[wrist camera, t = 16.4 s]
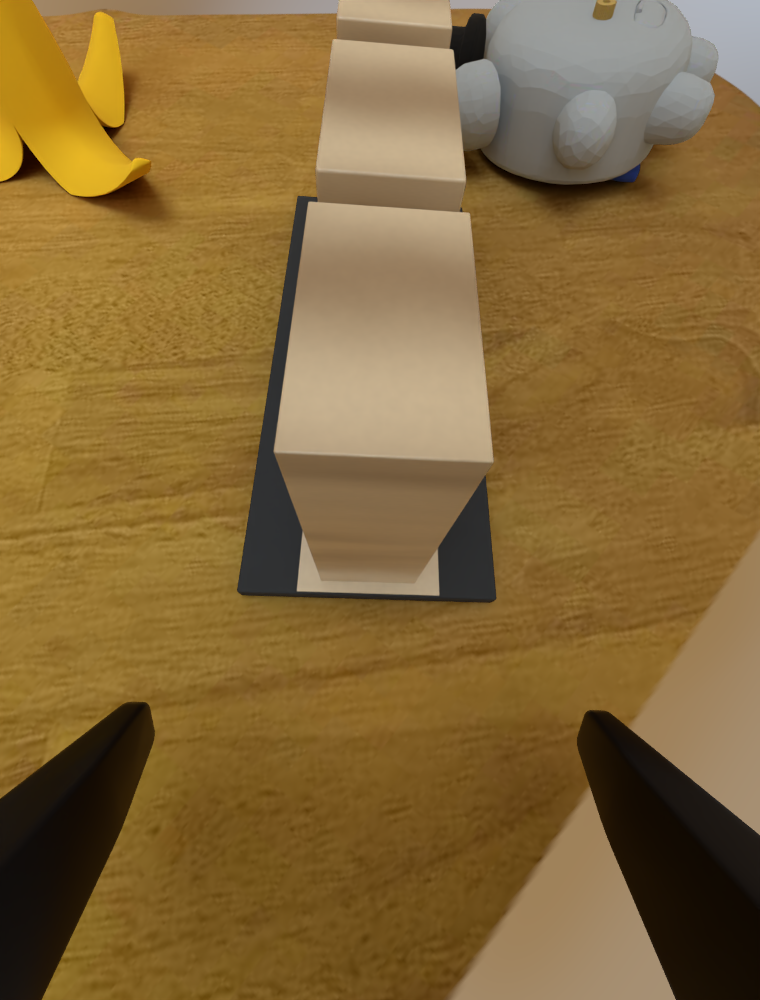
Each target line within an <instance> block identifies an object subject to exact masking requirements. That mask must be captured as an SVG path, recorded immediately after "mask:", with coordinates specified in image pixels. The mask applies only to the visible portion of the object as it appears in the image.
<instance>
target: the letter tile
mask: <svg viewBox="0 0 760 1000" xmlns="http://www.w3.org/2000/svg"><path fill="white" fill-rule="evenodd" d="M274 454H275V457H276V459H277V462H278V465H279V468H280V470H281V473H282V476H283V478H284V481H285V484H286V487H287V489H288V492H289V495H290V497H291V500H292V503H293V506H294V508H295V511H296V514H297V516H298V519H299V522H300V525H301V527H302V530H303V533H304V535H305V538H306V541H307V544H308V546H309V549H310V552H311V554H312V557H313V560H314V563H315V565H316V568H317V571H318V573H319V576H320V579H321V580H322V581H350V582H381V583H411V584H414V583H415V582H416V580H417V579H418V577H419V576H420V574H421V573H422V571H423V570H424V568H425V567H426V565H427V564H428V562H429V561H430V559H431V558H432V556H433V554H434V553H435V551H436V550H437V548H438V547H439V545H440V544H441V542H442V541H443V539H444V538H445V536H446V535H447V533H448V531H449V530H450V528H451V527H452V525H453V524H454V522H455V521H456V519H457V518H458V516H459V515H460V513H461V512H462V510H463V509H464V507H465V505H466V504H467V502H468V501H469V499H470V498H471V496H472V495H473V493H474V492H475V490H476V489H477V487H478V486H479V484H480V483H481V481H482V479H483V478H484V476H485V475H486V473H487V472H488V470H489V469H490V467H491V466H492V464H493V462H494V459H493V448H492V438H491V427H490V417H489V407H488V396H487V386H486V375H485V365H484V355H483V344H482V334H481V323H480V313H479V303H478V292H477V282H476V272H475V261H474V251H473V240H472V230H471V220H470V213H464V212H450V211H436V210H422V209H407V208H393V207H379V206H365V205H351V204H337V203H323V202H308V207H307V215H306V222H305V229H304V236H303V243H302V251H301V258H300V265H299V272H298V279H297V287H296V294H295V301H294V308H293V315H292V323H291V330H290V337H289V344H288V351H287V359H286V366H285V373H284V380H283V387H282V395H281V402H280V409H279V416H278V423H277V431H276V438H275V445H274Z"/></svg>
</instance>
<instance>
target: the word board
mask: <svg viewBox="0 0 760 1000" xmlns="http://www.w3.org/2000/svg"><path fill="white" fill-rule="evenodd" d="M308 202H318V199H317V197H307V196H298V198H297V205H296V211H295V218H294V224H293V231H292V237H291V244H290V250H289V257H288V263H287V270H286V276H285V283H284V289H283V296H282V302H281V309H280V315H279V322H278V328H277V335H276V341H275V348H274V354H273V361H272V367H271V374H270V380H269V387H268V393H267V400H266V406H265V413H264V419H263V426H262V432H261V439H260V445H259V452H258V458H257V465H256V471H255V478H254V484H253V491H252V497H251V504H250V510H249V517H248V523H247V530H246V536H245V543H244V549H243V556H242V562H241V569H240V575H239V582H238V589H237V591H238V592H239V593H240V594H242V595H255V596H289V597H322V598H355V599H389V600H422V601H455V602H489V603H490V602H492V601H494V600H496V589H495V578H494V567H493V555H492V544H491V532H490V521H489V509H488V498H487V487H486V475H485V476H484V478H483V479H482V481H481V483H480V484H479V486H478V487H477V489H476V490H475V492H474V493H473V495H472V496H471V498H470V499H469V501H468V502H467V504H466V505H465V507H464V509H463V510H462V512H461V513H460V515H459V516H458V518H457V519H456V521H455V522H454V524H453V525H452V527H451V528H450V530H449V531H448V533H447V535H446V536H445V538H444V539H443V541H442V542H441V544H440V545H439V547H438V548H437V550H436V551H435V553H434V554H433V556H432V558H431V559H430V561H429V562H428V564H427V565H426V567H425V568H424V570H423V571H422V573H421V574H420V576H419V577H418V579H417V580H416V582H415V583H414V584H411V583H381V582H350V581H322V580H321V579H320V576H319V573H318V571H317V568H316V565H315V563H314V560H313V557H312V554H311V552H310V549H309V546H308V544H307V541H306V538H305V535H304V533H303V530H302V527H301V525H300V522H299V519H298V516H297V514H296V511H295V508H294V506H293V503H292V500H291V497H290V495H289V492H288V489H287V487H286V484H285V481H284V478H283V476H282V473H281V470H280V468H279V465H278V462H277V459H276V457H275V454H274V445H275V438H276V431H277V423H278V416H279V409H280V402H281V395H282V387H283V380H284V373H285V366H286V359H287V351H288V344H289V337H290V330H291V323H292V315H293V308H294V301H295V294H296V287H297V279H298V272H299V265H300V258H301V251H302V243H303V236H304V229H305V222H306V215H307V207H308ZM460 212H462V208H460Z"/></svg>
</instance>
